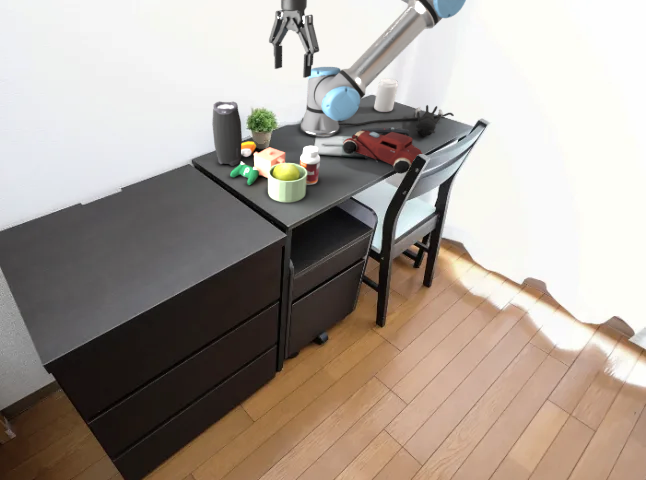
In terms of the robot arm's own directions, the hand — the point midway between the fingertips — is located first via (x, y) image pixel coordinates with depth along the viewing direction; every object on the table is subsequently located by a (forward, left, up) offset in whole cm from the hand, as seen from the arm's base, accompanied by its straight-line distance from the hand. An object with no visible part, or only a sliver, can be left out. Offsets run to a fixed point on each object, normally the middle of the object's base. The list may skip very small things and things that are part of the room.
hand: (292, 72), depth 123 cm
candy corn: (+12, -9, -25) cm, 29 cm away
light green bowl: (+21, +23, -26) cm, 40 cm away
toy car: (-19, +28, -27) cm, 43 cm away
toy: (-70, +11, -24) cm, 75 cm away
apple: (+20, +22, -26) cm, 39 cm away
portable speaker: (+23, -5, -26) cm, 35 cm away
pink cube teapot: (+18, +10, -27) cm, 33 cm away
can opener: (-31, +18, -27) cm, 45 cm away
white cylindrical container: (-57, -3, -27) cm, 63 cm away
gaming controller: (+26, +8, -27) cm, 38 cm away
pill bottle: (+11, +22, -27) cm, 36 cm away
